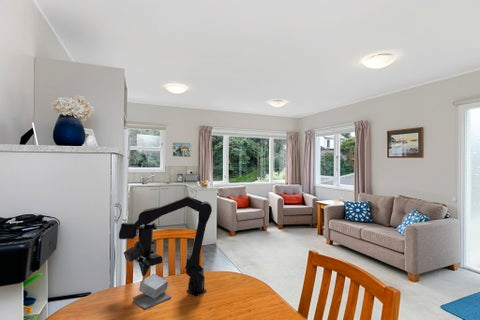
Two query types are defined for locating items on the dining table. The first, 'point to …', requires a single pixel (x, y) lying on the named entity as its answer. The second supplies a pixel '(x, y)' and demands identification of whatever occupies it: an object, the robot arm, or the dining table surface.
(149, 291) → the medicine box
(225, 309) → the dining table surface
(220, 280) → the dining table surface
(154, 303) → the mat
